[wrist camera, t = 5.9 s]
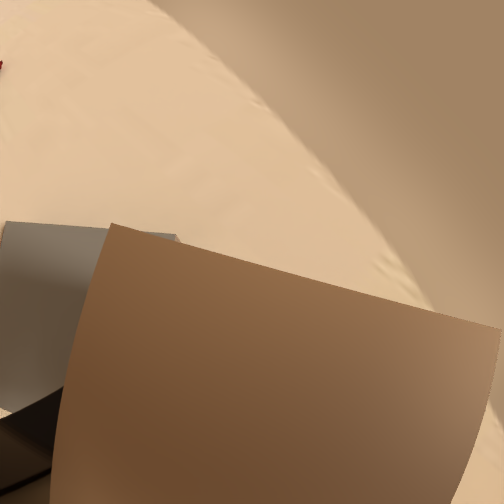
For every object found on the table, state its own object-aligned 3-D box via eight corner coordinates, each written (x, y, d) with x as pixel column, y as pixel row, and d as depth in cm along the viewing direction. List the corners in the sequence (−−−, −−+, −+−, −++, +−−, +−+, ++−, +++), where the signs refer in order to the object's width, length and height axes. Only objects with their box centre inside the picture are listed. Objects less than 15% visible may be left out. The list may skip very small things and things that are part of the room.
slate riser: (166, 442, 19) (157, 457, 16) (10, 397, 19) (-12, 402, 16) (183, 246, 22) (175, 234, 19) (26, 231, 22) (6, 221, 19)
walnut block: (280, 428, 15) (376, 616, 2) (183, 402, 15) (49, 557, 2) (307, 335, 16) (501, 329, 3) (210, 309, 16) (110, 222, 3)
